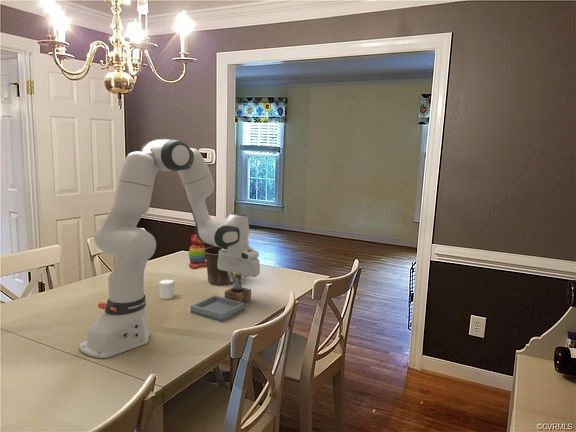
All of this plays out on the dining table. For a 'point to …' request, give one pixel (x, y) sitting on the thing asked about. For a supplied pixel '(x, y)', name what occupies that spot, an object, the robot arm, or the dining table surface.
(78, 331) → the dining table surface
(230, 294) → the pin block
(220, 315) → the tray
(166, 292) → the white cylinder
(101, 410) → the dining table surface
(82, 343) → the robot arm
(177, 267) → the dining table surface
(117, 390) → the dining table surface
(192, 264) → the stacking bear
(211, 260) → the plant pot
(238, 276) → the steel pin
